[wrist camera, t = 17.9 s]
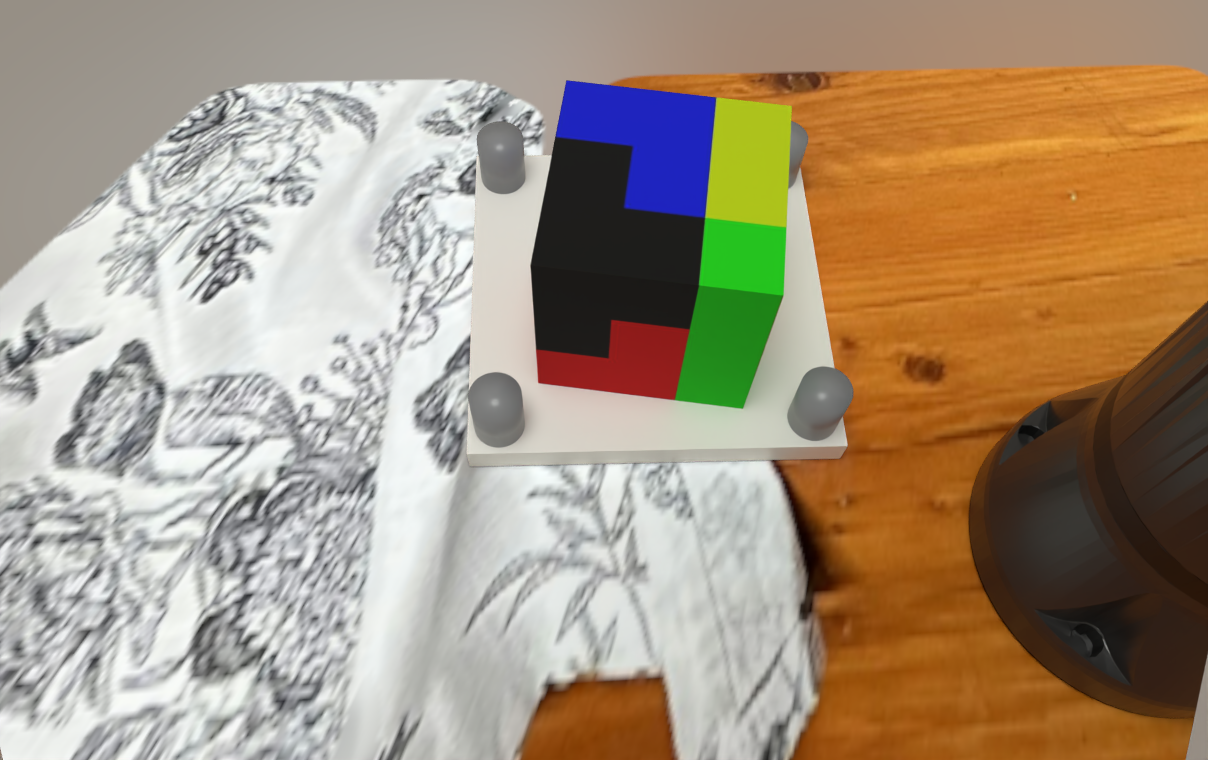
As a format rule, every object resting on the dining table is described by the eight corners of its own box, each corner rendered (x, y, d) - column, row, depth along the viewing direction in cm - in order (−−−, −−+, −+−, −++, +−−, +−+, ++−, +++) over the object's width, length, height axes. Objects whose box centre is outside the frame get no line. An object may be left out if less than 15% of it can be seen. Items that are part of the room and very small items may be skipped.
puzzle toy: (567, 219, 51) (566, 80, 42) (753, 242, 51) (791, 106, 42) (537, 383, 46) (530, 265, 38) (742, 408, 46) (783, 295, 37)
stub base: (792, 170, 55) (809, 115, 51) (840, 458, 47) (864, 418, 43) (478, 173, 54) (471, 117, 50) (469, 466, 46) (460, 426, 42)
